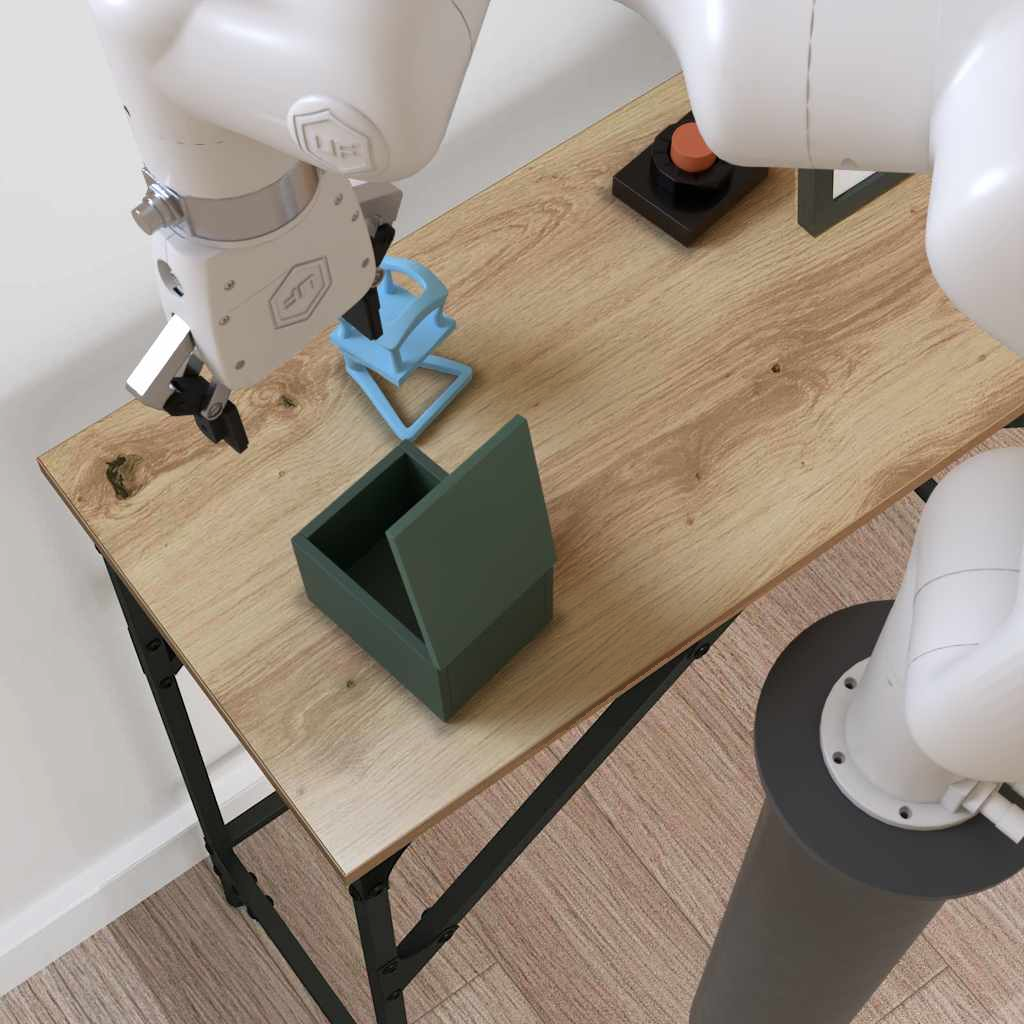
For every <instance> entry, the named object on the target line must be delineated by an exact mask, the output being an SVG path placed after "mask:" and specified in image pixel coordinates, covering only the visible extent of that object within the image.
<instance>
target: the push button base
mask: <svg viewBox="0 0 1024 1024" xmlns="http://www.w3.org/2000/svg"><path fill="white" fill-rule="evenodd" d="M693 122H695V123H696V121H695V118H694V115H693V112H692V109H690V110H689V111H688V112H687V113H685V115H683V116H682V117H680V119H679V120H678V121H677V122H674V123H671V124H669V125H668V126H666V127H665V128H664V129H663V130H661V131H660V132H659V133H658V134H657V135H656V136H655V137H654V140H653V142H652V143H650V144H649V145H648V146H647V147H646V148H644V149H643V150H642V151H641V152H640V153H639V154H638V155H636V156H635V157H634V158H633V159H631V160H630V161H629V162H628V163H627V164H626V165H624V166H623V167H622V168H621V169H619V170H618V171H617V172H616V173H615V174H613V175H612V183H611V195H612V196H613V197H614V198H616V199H618V200H619V201H620V202H622V203H623V204H625V205H626V206H627V207H628V208H630V209H631V210H633V211H634V212H636V213H637V214H639V215H640V216H641V217H643V218H644V219H645V220H647V221H648V222H650V223H651V224H653V225H654V226H656V227H657V228H658V229H659V230H661V231H662V232H664V233H665V234H667V235H668V236H670V237H671V238H672V239H674V240H675V241H677V242H678V243H680V244H681V245H682V246H683V247H685V248H689V247H690V246H691V245H692V244H693V243H694V242H695V241H696V240H697V239H699V238H700V237H701V236H702V235H703V234H704V233H705V232H706V231H708V230H709V229H710V228H711V227H712V226H714V225H715V224H716V223H717V222H718V221H719V220H720V219H721V218H722V217H723V216H725V215H726V214H727V213H728V212H729V211H730V210H731V209H733V208H734V207H735V206H736V205H737V204H739V202H740V201H742V200H743V199H744V198H745V197H746V196H747V195H748V194H749V193H750V192H752V191H753V190H754V189H755V188H756V187H757V186H759V184H761V183H762V182H763V181H764V180H765V179H766V178H767V177H768V176H769V171H770V167H744V166H739V165H734V164H731V163H729V162H727V161H724V160H722V159H720V158H719V157H718V156H716V160H715V162H714V164H713V165H712V166H711V167H710V168H708V169H707V170H704V171H701V172H688V171H684V170H682V169H680V168H678V167H677V166H676V165H675V164H674V163H673V161H672V159H671V143H672V136H673V133H674V132H675V130H676V129H677V128H678V127H680V126H682V125H684V124H687V123H693Z"/></svg>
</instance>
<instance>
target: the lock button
mask: <svg viewBox="0 0 1024 1024" xmlns="http://www.w3.org/2000/svg"><path fill="white" fill-rule="evenodd" d="M716 156H717V155H716V154H714V153H713V152H712V151H711V150H710V149H709V147H708V146H707V144H706V142H705V141H704V139H703V137H702V136H701V134H700V132H699V129H698V126H697V123H695V122H693V123H687V124H684V125H682V126H680V127H678V128H677V129H676V130H675V132H674V133H673V136H672V143H671V159H672V161H673V163H674V164H675V165H676V166H677V167H678V168H680V169H682V170H684V171H688V172H701V171H704V170H707V169H708V168H710V167H711V166H712V165H713V164H714V162H715V160H716Z"/></svg>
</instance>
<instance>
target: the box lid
mask: <svg viewBox="0 0 1024 1024" xmlns="http://www.w3.org/2000/svg"><path fill="white" fill-rule="evenodd" d="M449 474H450V475H448V476H447V477H446V478H445V479H444V480H443V481H442V482H441V483H439V484H438V485H437V486H436V487H435V488H434V489H433V490H432V491H430V492H429V493H428V494H427V495H426V496H425V497H424V498H423V499H422V500H420V501H419V502H418V503H417V504H416V505H415V506H414V507H413V508H411V509H410V510H409V511H408V512H407V513H406V514H405V515H404V516H403V517H401V518H400V519H399V520H398V521H397V522H396V523H395V524H394V525H392V526H391V527H390V528H389V529H388V530H387V531H386V532H385V533H386V536H387V538H388V541H389V544H390V547H391V549H392V552H393V555H394V558H395V560H396V563H397V566H398V569H399V572H400V574H401V577H402V580H403V583H404V585H405V588H406V591H407V594H408V596H409V599H410V602H411V605H412V607H413V610H414V613H415V616H416V619H417V621H418V624H419V627H420V630H421V632H422V635H423V638H424V641H425V643H426V646H427V649H428V652H429V655H430V657H431V660H432V663H433V665H434V666H435V667H437V668H438V669H439V670H441V671H442V670H443V669H444V668H445V667H446V666H447V665H448V664H449V663H450V662H451V661H453V660H454V659H455V658H456V657H457V656H458V655H459V654H460V653H461V652H462V651H463V650H464V649H465V648H466V647H467V646H468V645H469V644H470V643H471V642H473V641H474V640H475V639H476V638H477V637H478V636H479V635H480V634H481V633H482V632H483V631H484V630H485V629H486V628H487V627H488V626H489V625H490V624H491V623H493V622H494V621H495V620H496V619H497V618H498V617H499V616H500V615H501V614H502V613H503V612H504V611H505V610H506V609H507V608H508V607H509V606H510V605H511V604H512V603H514V602H515V601H516V600H517V599H518V598H519V597H520V596H521V595H522V594H523V593H524V592H525V591H526V590H527V589H528V588H529V587H530V586H531V585H532V584H534V583H535V582H536V581H537V580H538V579H539V578H540V577H541V576H542V575H543V574H544V573H545V572H546V571H547V570H548V569H549V568H550V567H551V566H552V565H553V566H555V564H556V563H557V562H558V561H559V560H558V555H557V551H556V547H555V541H554V537H553V532H552V528H551V522H550V518H549V514H548V509H547V504H546V499H545V495H544V491H543V485H542V480H541V476H540V472H539V467H538V463H537V459H536V454H535V449H534V445H533V439H532V435H531V431H530V425H529V421H528V419H527V418H526V417H524V416H523V415H521V414H520V413H517V414H515V415H514V416H513V417H512V418H511V419H509V420H508V421H507V422H506V423H505V424H504V425H503V426H502V427H501V428H500V429H499V430H497V431H496V432H495V433H494V434H493V435H492V436H491V437H490V438H488V439H487V440H486V441H485V442H484V443H482V445H481V446H480V447H478V448H477V449H476V450H475V451H474V452H473V453H471V455H469V456H468V457H467V458H466V459H465V460H464V461H462V463H460V464H459V465H458V466H457V467H456V468H455V469H454V470H453V471H452V472H450V473H449Z"/></svg>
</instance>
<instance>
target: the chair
mask: <svg viewBox="0 0 1024 1024" xmlns="http://www.w3.org/2000/svg"><path fill="white" fill-rule="evenodd" d="M380 267H381V268H383V269H384V270H385V276H384V278H383V280H382V282H381V283H380V284H379V285H378V286H377V291H378V296H379V301H380V309H379V313H380V318H381V324H382V329H383V335H382V336H381V337H380V338H378V339H377V340H372V341H371V340H369V339H368V338H367V337H365V336H364V335H363V334H362V333H360V332H359V331H358V330H357V329H355V328H354V327H353V326H352V325H350V324H349V323H348V322H347V321H346V320H344V319H343V318H342V317H340V318H338V319H337V320H336V321H338V323H339V324H338V326H337V327H336V328H334V330H333V331H332V332H331V333H330V334H329V335H328V336H329V341H330V343H331V344H333V345H334V346H335V347H337V349H338V350H339V351H340V353H341V355H342V356H343V358H344V363H345V371H346V372H347V374H348V375H349V376H350V377H351V378H352V379H353V380H354V381H355V382H356V383H357V384H358V386H359V387H360V388H361V389H362V391H363V392H364V393H365V395H366V396H367V397H368V398H369V400H370V401H371V403H372V404H373V405H374V407H375V408H376V410H377V411H378V413H379V414H380V415H381V417H382V418H383V419H384V421H385V422H386V424H387V425H388V426H389V427H390V429H391V430H392V432H393V433H394V434H395V435H396V436H397V438H399V440H400V441H401V442H402V441H404V440H405V439H408V440H409V441H410V442H411V443H412V444H414V442H415V441H416V440H417V439H418V438H419V437H420V436H421V435H422V433H424V431H426V429H427V428H428V427H429V426H430V425H431V424H432V423H433V422H434V421H435V420H436V418H438V417H439V416H440V414H441V413H442V412H443V411H445V409H446V408H447V407H448V406H449V405H450V404H451V402H453V400H454V399H455V398H456V397H457V396H458V395H459V394H460V393H461V392H462V391H463V390H464V389H465V388H466V386H468V384H469V383H471V381H472V379H473V369H472V367H470V366H468V365H466V364H464V363H461V362H458V361H456V360H452V359H449V358H446V357H442V356H438V355H435V354H432V353H433V352H434V351H435V350H436V349H437V348H438V347H439V346H440V345H441V344H442V343H444V342H445V341H446V340H447V339H448V338H449V337H450V336H451V335H452V334H453V333H454V331H456V329H457V321H456V319H453V318H452V317H450V316H448V315H447V314H446V313H444V312H443V310H444V308H445V305H446V302H447V299H448V296H449V290H448V288H447V286H446V285H445V284H444V283H443V282H442V280H441V279H440V278H438V276H437V275H436V274H435V273H433V271H431V270H430V269H429V268H428V267H427V266H425V265H424V264H422V263H420V262H418V261H416V260H413V259H409V258H404V257H403V258H402V257H395V256H390V255H388V254H386V255H385V257H384V259H383V261H382V263H381V264H380ZM392 272H397V273H401V274H404V275H406V276H407V277H409V278H411V279H412V280H414V281H415V282H417V283H418V284H419V286H421V287H422V288H423V291H422V293H421V294H420V295H419V296H418V297H417V296H416V295H414V294H413V293H411V292H410V291H409V290H407V289H406V288H404V287H403V286H401V285H400V284H398V282H395V281H394V280H393V279H394V278H393V275H392ZM366 368H368V369H370V370H372V371H374V372H376V373H377V374H379V375H380V376H381V377H383V378H384V379H385V380H387V381H389V382H390V383H392V384H393V385H394V386H396V387H397V388H400V387H402V385H404V383H405V382H407V380H408V379H410V377H411V376H412V375H413V374H414V373H415V371H417V370H418V368H422V369H427V370H430V371H435V372H440V373H444V374H448V375H452V376H456V377H457V378H456V379H455V380H454V381H453V382H452V383H451V384H450V385H449V386H448V387H447V388H446V389H445V390H444V391H443V392H442V393H441V394H440V396H439V397H438V398H437V399H436V400H435V401H434V402H433V403H432V404H431V405H430V406H429V407H428V408H427V409H426V410H425V411H424V412H423V413H422V414H421V415H420V417H418V418H417V419H416V420H415V421H414V423H412V425H410V426H409V427H407V426H405V424H404V423H403V421H402V419H400V417H399V415H398V414H397V412H396V411H395V409H394V408H393V407H392V405H391V403H390V401H389V400H388V399H387V397H386V396H385V394H384V392H383V391H382V390H381V388H380V387H379V385H378V384H377V382H376V381H375V379H374V377H372V375H371V373H370V372H369V371H368V370H367V369H366Z"/></svg>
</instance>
